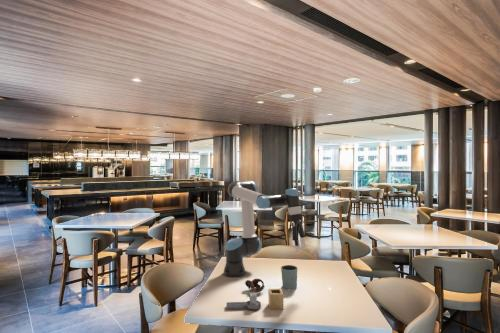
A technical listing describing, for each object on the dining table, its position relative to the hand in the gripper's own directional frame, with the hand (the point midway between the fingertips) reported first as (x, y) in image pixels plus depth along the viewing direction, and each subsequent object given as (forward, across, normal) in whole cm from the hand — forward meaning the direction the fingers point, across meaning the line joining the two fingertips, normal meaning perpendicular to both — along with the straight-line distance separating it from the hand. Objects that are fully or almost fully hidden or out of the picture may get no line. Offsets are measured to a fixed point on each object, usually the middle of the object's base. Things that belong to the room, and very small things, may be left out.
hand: (301, 250), depth 176 cm
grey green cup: (+22, +8, +14) cm, 27 cm away
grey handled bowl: (+23, -29, +29) cm, 47 cm away
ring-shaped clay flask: (+20, -6, +31) cm, 38 cm away
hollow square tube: (+25, -21, +13) cm, 35 cm away
